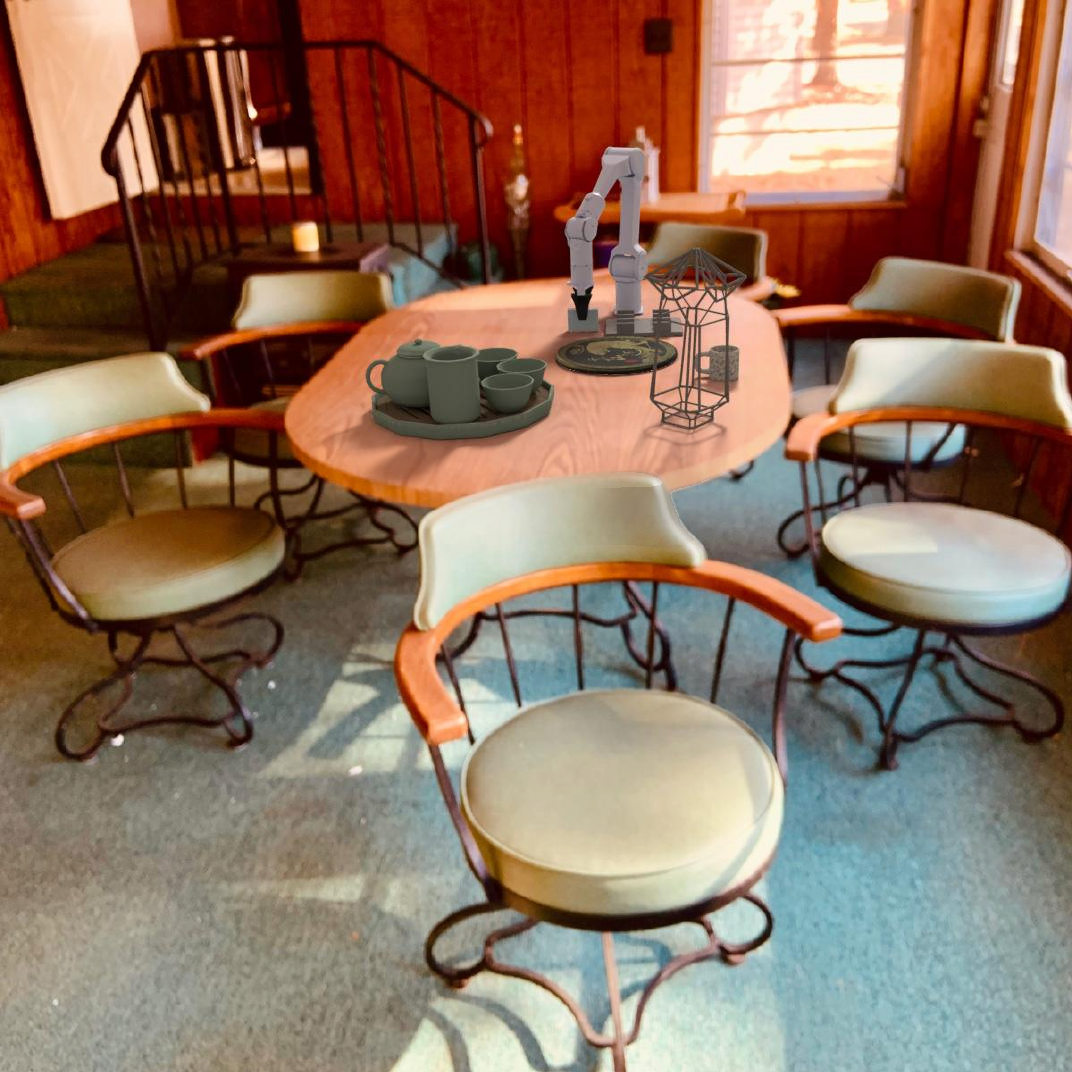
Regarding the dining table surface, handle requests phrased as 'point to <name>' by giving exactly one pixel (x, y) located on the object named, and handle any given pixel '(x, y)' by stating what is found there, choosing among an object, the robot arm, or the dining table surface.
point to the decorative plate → (615, 355)
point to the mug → (720, 363)
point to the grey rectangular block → (583, 325)
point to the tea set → (458, 391)
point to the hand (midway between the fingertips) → (583, 316)
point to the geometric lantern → (682, 267)
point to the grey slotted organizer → (642, 325)
